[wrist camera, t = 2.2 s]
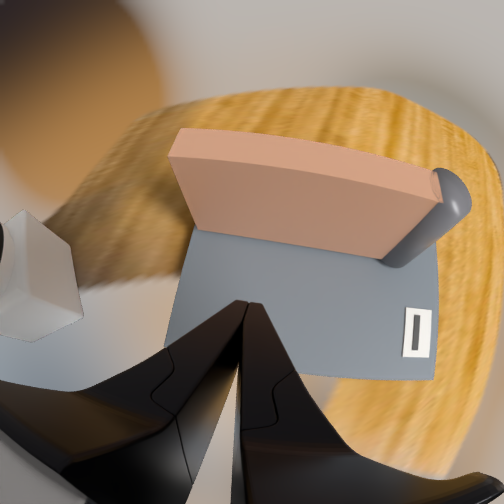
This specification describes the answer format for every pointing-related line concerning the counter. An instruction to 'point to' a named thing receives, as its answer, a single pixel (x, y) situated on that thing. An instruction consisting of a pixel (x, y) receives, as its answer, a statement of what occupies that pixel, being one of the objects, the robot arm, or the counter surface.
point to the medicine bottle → (35, 280)
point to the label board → (319, 304)
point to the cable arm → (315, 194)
